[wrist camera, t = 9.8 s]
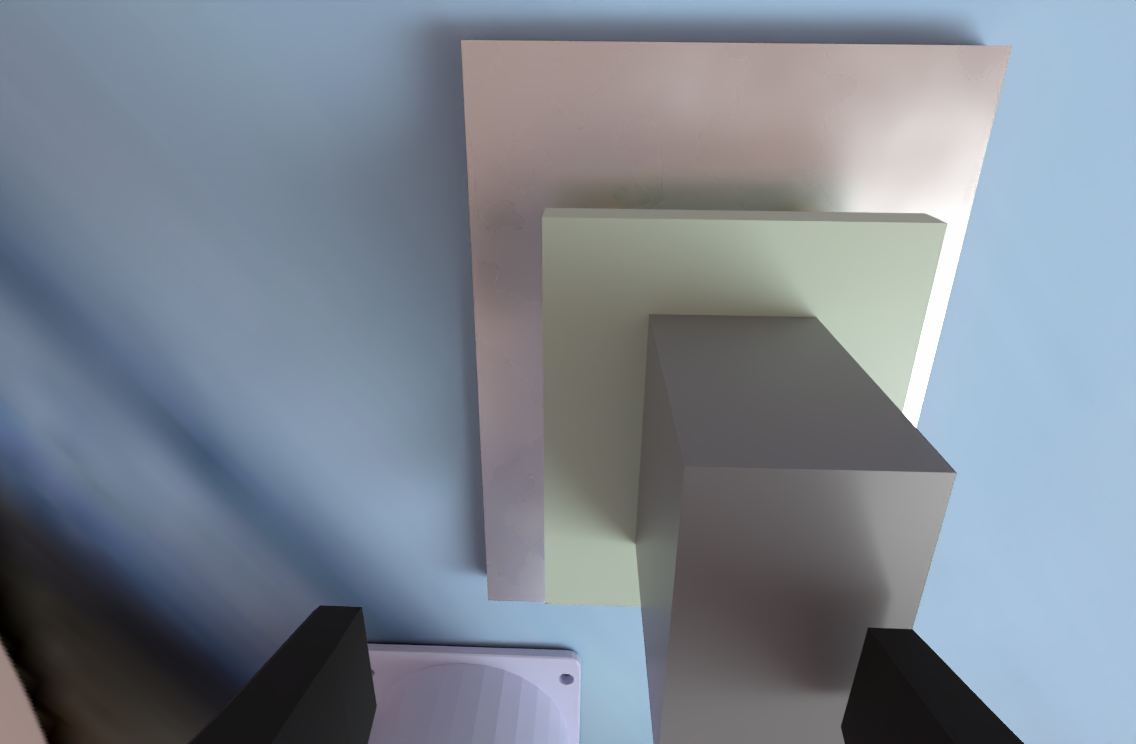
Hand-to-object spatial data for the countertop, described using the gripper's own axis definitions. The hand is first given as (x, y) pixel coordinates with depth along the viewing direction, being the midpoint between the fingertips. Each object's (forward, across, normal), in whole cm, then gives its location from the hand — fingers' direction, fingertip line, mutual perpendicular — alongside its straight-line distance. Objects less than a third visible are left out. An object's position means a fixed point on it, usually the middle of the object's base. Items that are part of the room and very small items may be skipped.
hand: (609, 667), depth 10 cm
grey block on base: (+7, -3, 0) cm, 8 cm away
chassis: (+10, -3, 0) cm, 11 cm away
